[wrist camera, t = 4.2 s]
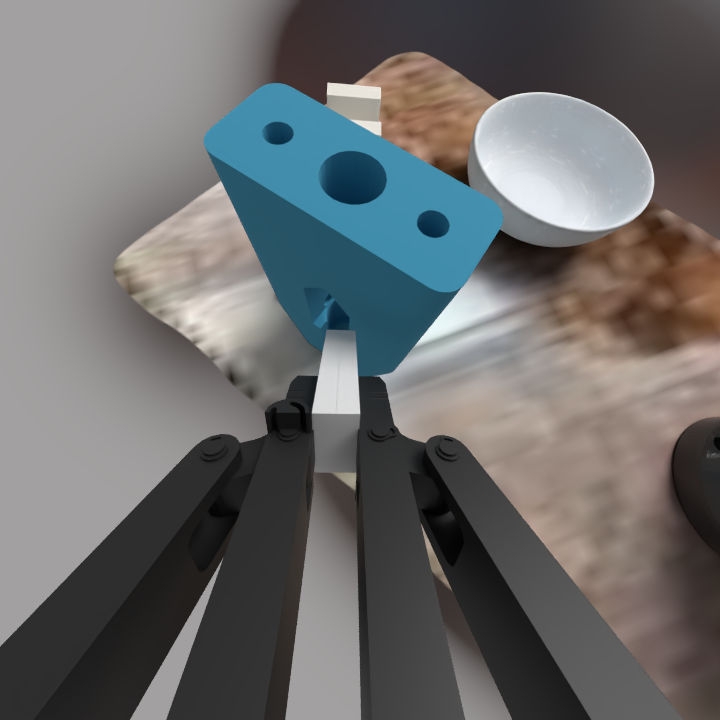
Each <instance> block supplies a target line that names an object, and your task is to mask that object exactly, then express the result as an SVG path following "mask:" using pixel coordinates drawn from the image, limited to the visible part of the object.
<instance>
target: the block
mask: <svg viewBox="0 0 720 720" xmlns="http://www.w3.org/2000/svg"><path fill="white" fill-rule="evenodd" d="M204 145H205V148H206V150H207V152H208V154H209V156H210V158H211V160H212V163H213V164H214V167H215V169H216V171H217V173H218V175H219V177H220V179H221V181H222V183H223V185H224V188H225V190H226V192H227V194H228V196H229V198H230V200H231V202H232V204H233V206H234V208H235V210H236V213H237V215H238V217H239V219H240V221H241V223H242V225H243V227H244V229H245V231H246V233H247V235H248V238H249V240H250V242H251V244H252V246H253V248H254V250H255V252H256V254H257V256H258V258H259V260H260V263H261V265H262V267H263V269H264V271H265V273H266V275H267V277H268V279H269V281H270V283H271V285H272V288H273V290H274V292H275V294H276V296H277V298H278V300H279V302H280V304H281V306H282V307H283V308H284V310H285V311H286V313H287V314H288V315H289V317H290V318H291V320H292V321H293V322H294V324H295V325H296V326H297V328H298V329H299V331H300V332H301V333H302V335H303V336H304V338H305V339H306V340H307V342H308V343H310V344H311V345H313V346H314V347H316V348H317V349H319V350H320V351H322V352H323V347H324V342H325V336H326V331H327V330H352V331H355V332H356V349H357V367H358V376H376V375H382V374H388V373H391V372H393V371H394V370H395V369H396V368H397V367H398V365H399V364H400V363H401V362H402V360H403V359H404V358H405V357H406V355H407V354H408V353H409V352H410V351H411V349H412V348H413V347H414V346H415V344H416V343H417V342H418V341H419V340H420V338H421V337H422V336H423V335H424V333H425V332H426V331H427V330H428V328H429V327H430V326H431V325H432V324H433V322H434V321H435V320H436V319H437V317H438V316H439V315H440V314H441V313H442V311H443V310H444V309H445V308H446V306H447V305H448V304H449V303H450V301H451V300H452V299H453V298H454V297H455V295H456V294H457V293H458V292H459V290H460V289H461V288H462V287H463V286H464V284H465V283H466V282H467V280H468V279H469V277H470V275H471V274H472V272H473V271H474V269H475V267H476V266H477V264H478V263H479V261H480V260H481V258H482V256H483V255H484V253H485V252H486V250H487V249H488V247H489V245H490V244H491V242H492V241H493V239H494V237H495V236H496V234H497V233H498V231H499V230H500V228H501V226H502V224H503V214H502V211H501V209H500V207H499V206H498V205H497V204H496V203H495V202H494V201H493V200H491V199H490V198H488V197H487V196H485V195H483V194H481V193H479V192H478V191H476V190H474V189H472V188H470V187H469V186H467V185H465V184H463V183H462V182H460V181H458V180H456V179H454V178H453V177H451V176H449V175H447V174H445V173H444V172H442V171H440V170H438V169H437V168H435V167H433V166H431V165H429V164H428V163H426V162H424V161H422V160H420V159H419V158H417V157H415V156H413V155H412V154H410V153H408V152H406V151H404V150H403V149H401V148H399V147H397V146H395V145H394V144H392V143H390V142H388V141H387V140H385V139H383V138H381V137H379V136H378V135H376V134H374V133H372V132H370V131H369V130H367V129H365V128H363V127H362V126H360V125H358V124H356V123H354V122H353V121H351V120H349V119H347V118H345V117H344V116H342V115H340V114H338V113H337V112H335V111H333V110H331V109H329V108H328V107H326V106H324V105H322V104H321V103H319V102H317V101H315V100H313V99H311V98H310V97H308V96H306V95H304V94H303V93H301V92H299V91H297V90H295V89H294V88H292V87H290V86H287V85H285V84H280V83H273V84H267V85H265V86H262V87H261V88H259V89H258V90H257V91H255V92H254V93H253V94H252V95H251V96H249V97H248V98H247V99H246V100H244V101H243V102H242V103H241V104H240V105H238V106H237V107H236V108H235V109H234V110H232V111H231V112H230V113H229V114H228V115H226V116H225V117H224V118H223V119H221V120H220V121H219V122H218V123H217V124H215V125H214V126H213V127H212V128H211V129H210V130H209V131H208V132H207V133H206V135H205V137H204Z"/></svg>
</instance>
